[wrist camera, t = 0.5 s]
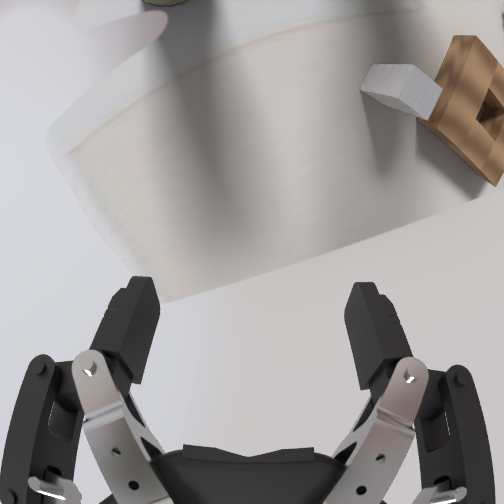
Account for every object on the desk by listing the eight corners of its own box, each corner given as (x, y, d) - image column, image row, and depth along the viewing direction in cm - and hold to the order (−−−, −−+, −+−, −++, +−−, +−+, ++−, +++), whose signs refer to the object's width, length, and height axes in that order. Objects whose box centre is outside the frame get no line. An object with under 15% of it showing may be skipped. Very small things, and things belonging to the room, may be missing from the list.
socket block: (453, 35, 19) (475, 35, 15) (510, 101, 23) (530, 109, 19) (416, 119, 28) (436, 127, 24) (477, 173, 31) (495, 187, 27)
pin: (371, 64, 25) (413, 64, 16) (397, 81, 25) (442, 88, 17) (359, 89, 27) (397, 97, 19) (385, 105, 28) (427, 120, 20)
